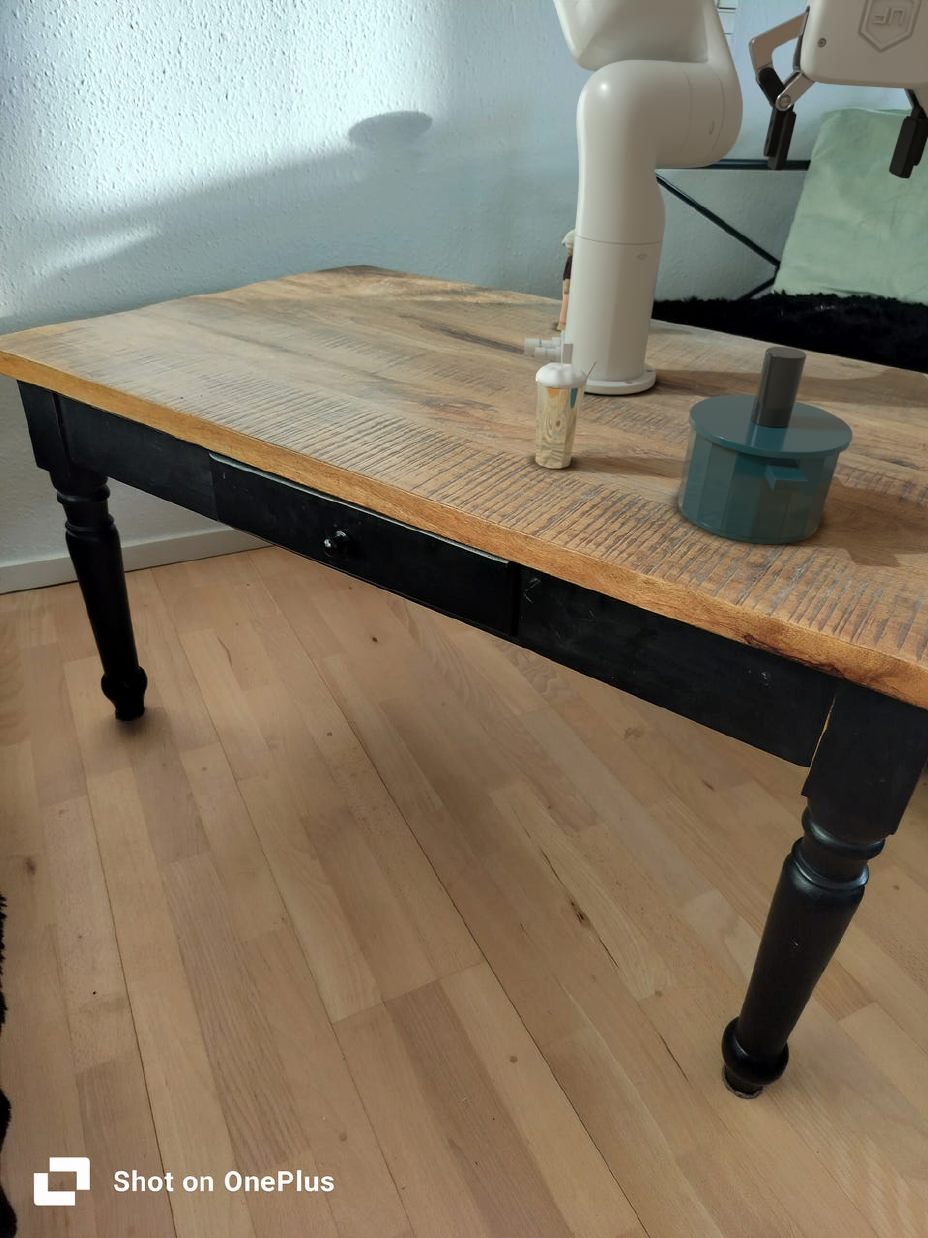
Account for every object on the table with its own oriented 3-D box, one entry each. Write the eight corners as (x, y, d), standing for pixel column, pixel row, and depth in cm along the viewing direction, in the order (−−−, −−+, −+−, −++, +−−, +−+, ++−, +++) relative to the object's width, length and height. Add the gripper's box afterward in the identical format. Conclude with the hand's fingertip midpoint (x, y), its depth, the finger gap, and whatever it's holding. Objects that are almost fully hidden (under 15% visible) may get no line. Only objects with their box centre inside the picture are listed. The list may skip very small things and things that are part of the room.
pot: (695, 556, 67) (714, 466, 63) (665, 467, 81) (679, 389, 77) (846, 565, 67) (875, 475, 62) (790, 474, 81) (810, 396, 77)
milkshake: (571, 478, 78) (584, 368, 73) (519, 463, 80) (528, 356, 75) (593, 462, 81) (606, 355, 76) (542, 448, 84) (552, 344, 78)
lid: (700, 461, 65) (718, 373, 61) (676, 404, 75) (690, 325, 72) (870, 471, 64) (899, 383, 61) (822, 412, 75) (844, 333, 71)
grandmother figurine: (584, 335, 118) (595, 234, 111) (556, 333, 118) (565, 233, 111) (578, 320, 124) (589, 224, 117) (552, 319, 124) (560, 223, 117)
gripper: (793, -124, 56) (734, 171, 66) (1067, -111, 55) (966, 186, 65) (769, -109, 62) (718, 159, 72) (1015, -97, 61) (930, 172, 71)
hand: (836, 171), depth 68 cm, fingers open, 9 cm apart
